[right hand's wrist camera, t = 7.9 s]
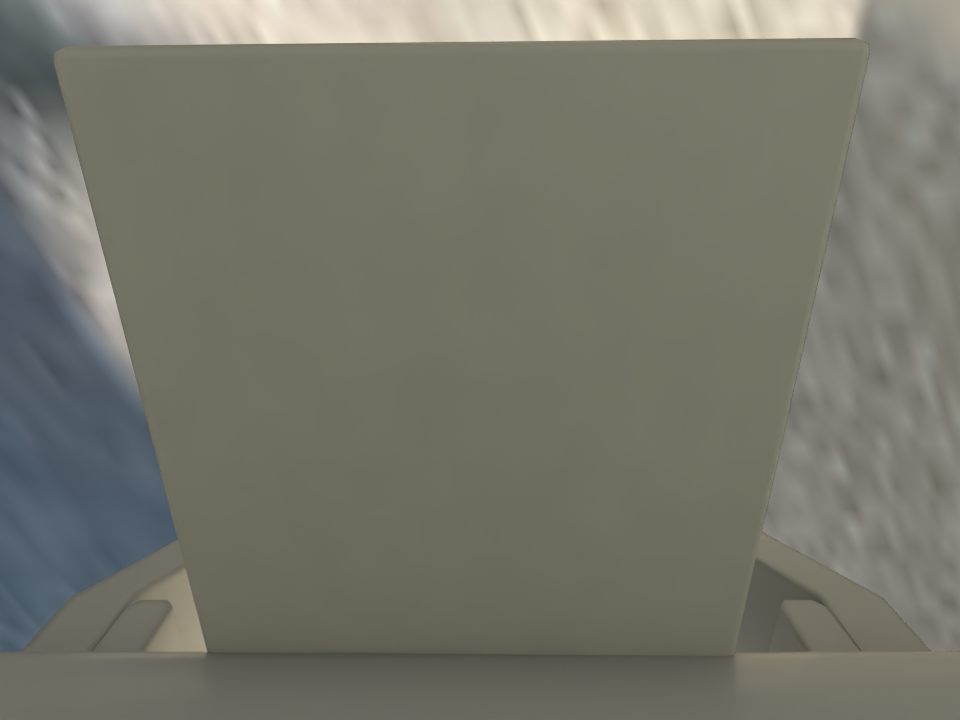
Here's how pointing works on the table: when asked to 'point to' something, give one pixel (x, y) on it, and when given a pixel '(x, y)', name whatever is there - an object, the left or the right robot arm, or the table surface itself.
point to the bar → (466, 325)
